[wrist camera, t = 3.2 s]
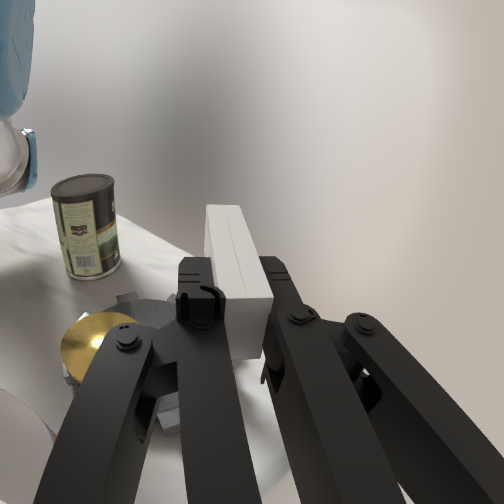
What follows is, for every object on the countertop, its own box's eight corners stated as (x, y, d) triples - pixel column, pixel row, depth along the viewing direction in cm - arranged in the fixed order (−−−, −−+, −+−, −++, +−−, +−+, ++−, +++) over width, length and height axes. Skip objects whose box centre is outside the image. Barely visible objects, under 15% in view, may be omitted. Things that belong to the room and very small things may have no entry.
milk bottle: (89, 542, 11) (-88, 469, 1) (22, 497, 12) (-133, 364, 2) (117, 480, 18) (4, 337, 8) (52, 443, 19) (-60, 282, 9)
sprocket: (61, 318, 32) (34, 222, 25) (193, 289, 42) (196, 197, 35) (84, 455, 19) (13, 369, 11) (267, 397, 28) (298, 297, 21)
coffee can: (109, 241, 51) (103, 169, 44) (130, 268, 45) (123, 185, 38) (60, 257, 45) (46, 182, 37) (72, 288, 39) (54, 202, 31)
